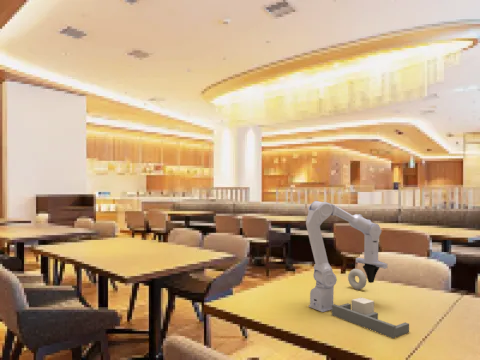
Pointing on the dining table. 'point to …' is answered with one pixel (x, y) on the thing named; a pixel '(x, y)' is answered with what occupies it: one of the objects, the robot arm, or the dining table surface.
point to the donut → (353, 282)
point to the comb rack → (369, 321)
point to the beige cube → (363, 306)
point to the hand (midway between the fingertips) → (370, 282)
